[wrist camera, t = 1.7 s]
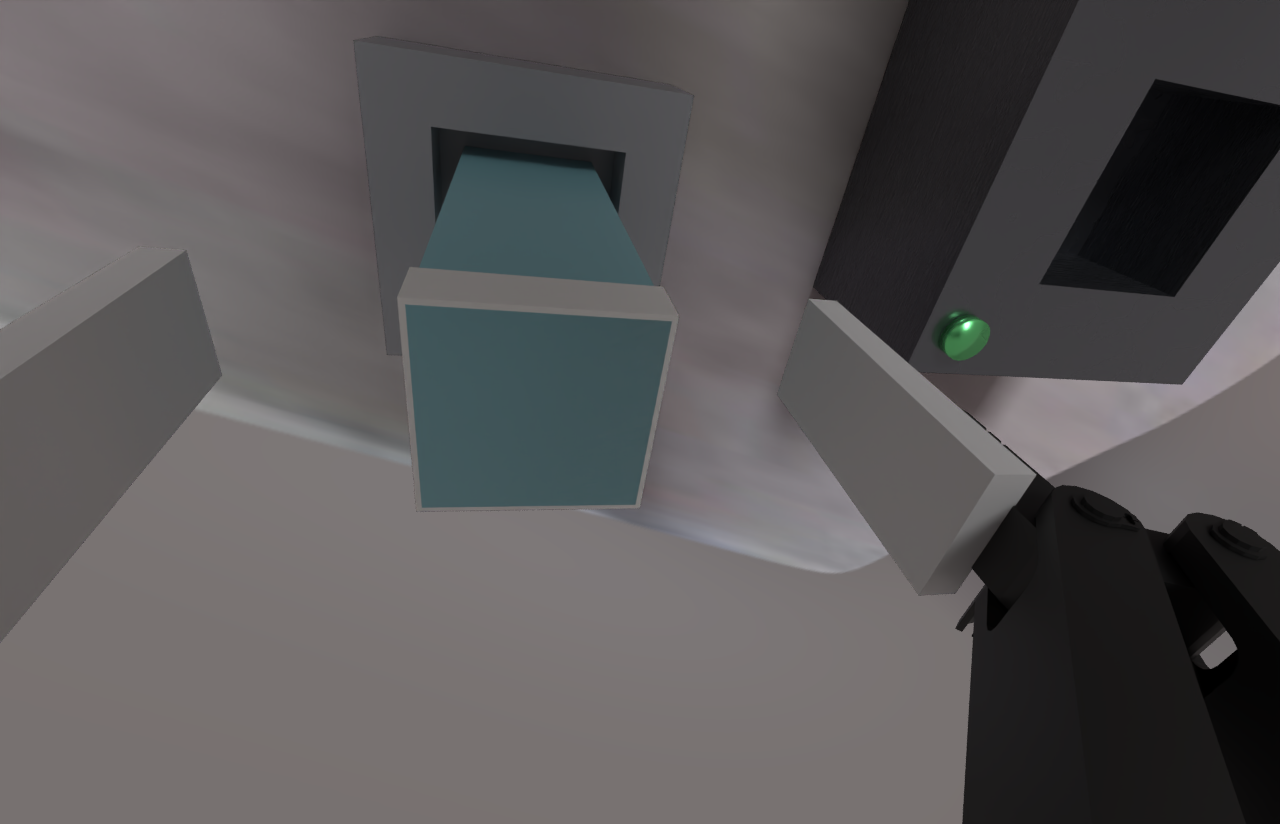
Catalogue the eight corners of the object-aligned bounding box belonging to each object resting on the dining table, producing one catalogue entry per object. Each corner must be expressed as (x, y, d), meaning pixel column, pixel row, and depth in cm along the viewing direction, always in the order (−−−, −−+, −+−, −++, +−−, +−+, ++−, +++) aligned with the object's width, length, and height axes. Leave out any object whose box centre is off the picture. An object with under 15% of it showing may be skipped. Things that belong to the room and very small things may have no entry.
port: (937, -81, 17) (1154, -129, 12) (1223, -5, 20) (1518, -12, 14) (813, 287, 24) (911, 377, 18) (1042, 306, 27) (1192, 390, 21)
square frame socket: (377, 36, 17) (353, 40, 14) (670, 84, 19) (693, 95, 16) (401, 316, 22) (386, 354, 19) (631, 330, 24) (645, 366, 21)
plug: (461, 142, 18) (396, 297, 8) (594, 159, 19) (679, 316, 9) (464, 271, 20) (416, 511, 10) (582, 280, 21) (640, 508, 11)
